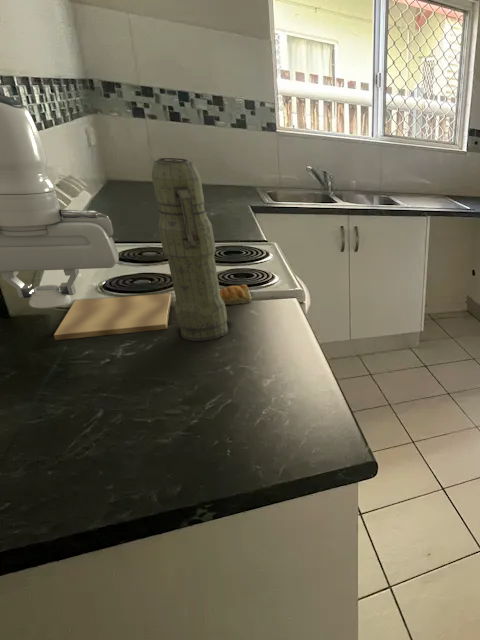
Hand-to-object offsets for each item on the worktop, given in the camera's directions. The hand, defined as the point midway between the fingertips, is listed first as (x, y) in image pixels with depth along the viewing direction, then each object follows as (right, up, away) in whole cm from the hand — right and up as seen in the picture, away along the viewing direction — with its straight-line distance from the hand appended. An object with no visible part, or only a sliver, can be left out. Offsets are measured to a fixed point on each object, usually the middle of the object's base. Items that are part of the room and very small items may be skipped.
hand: (48, 295), depth 77 cm
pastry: (+6, +2, +41) cm, 42 cm away
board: (-11, -2, +27) cm, 29 cm away
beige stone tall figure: (+10, -6, +24) cm, 27 cm away
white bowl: (0, -2, +1) cm, 2 cm away
